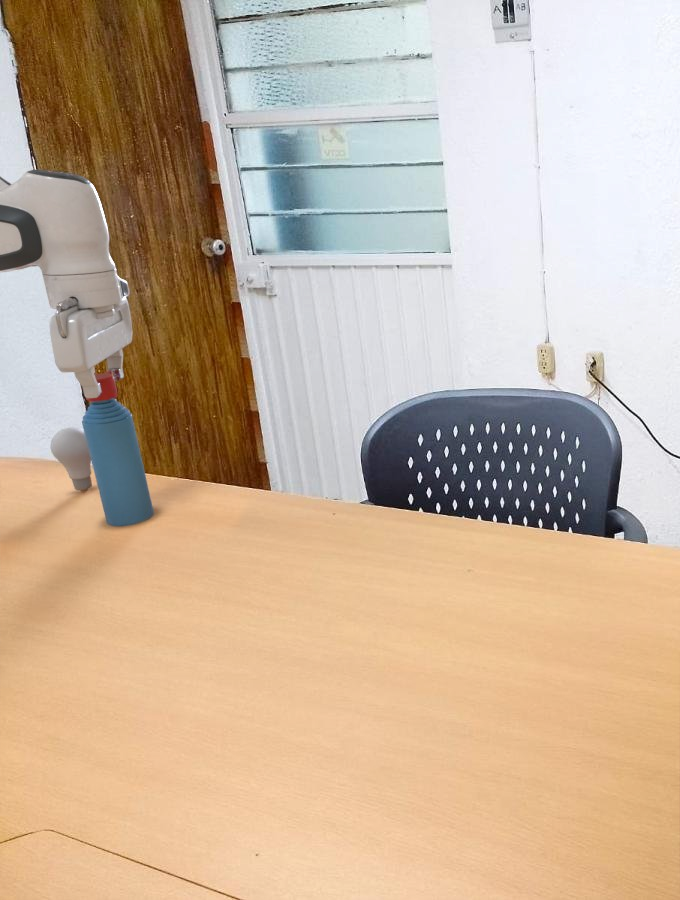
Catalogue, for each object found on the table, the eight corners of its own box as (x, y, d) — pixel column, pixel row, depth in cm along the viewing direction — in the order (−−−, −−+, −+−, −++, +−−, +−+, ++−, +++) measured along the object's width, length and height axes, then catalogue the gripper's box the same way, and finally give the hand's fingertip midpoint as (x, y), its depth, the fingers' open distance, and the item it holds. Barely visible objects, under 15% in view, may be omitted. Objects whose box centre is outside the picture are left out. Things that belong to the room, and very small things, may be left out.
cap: (122, 392, 122) (117, 372, 121) (112, 400, 119) (107, 379, 118) (92, 394, 122) (87, 374, 121) (81, 402, 118) (76, 381, 117)
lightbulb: (54, 496, 135) (36, 433, 132) (84, 483, 141) (68, 421, 137) (84, 499, 134) (68, 435, 130) (114, 485, 140) (99, 423, 136)
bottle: (100, 528, 123) (65, 388, 116) (114, 511, 129) (82, 377, 122) (147, 523, 124) (115, 385, 117) (159, 507, 130) (129, 374, 123)
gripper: (81, 303, 107) (104, 406, 111) (131, 281, 125) (149, 370, 130) (26, 305, 105) (52, 409, 110) (86, 283, 124) (106, 373, 129)
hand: (105, 388), depth 120 cm, fingers open, 8 cm apart
